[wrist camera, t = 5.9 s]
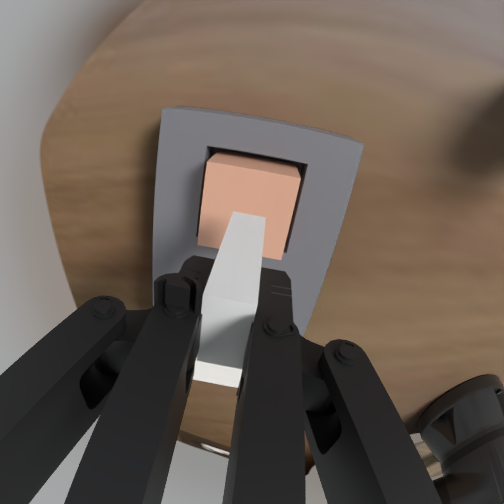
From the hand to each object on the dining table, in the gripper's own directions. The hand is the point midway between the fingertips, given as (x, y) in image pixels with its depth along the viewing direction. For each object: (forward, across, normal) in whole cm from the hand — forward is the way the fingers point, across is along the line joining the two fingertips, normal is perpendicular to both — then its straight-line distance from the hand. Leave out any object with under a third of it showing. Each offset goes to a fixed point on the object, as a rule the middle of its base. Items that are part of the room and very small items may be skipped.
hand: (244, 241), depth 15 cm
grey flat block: (+8, 0, +5) cm, 10 cm away
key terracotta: (+7, 0, 0) cm, 7 cm away
